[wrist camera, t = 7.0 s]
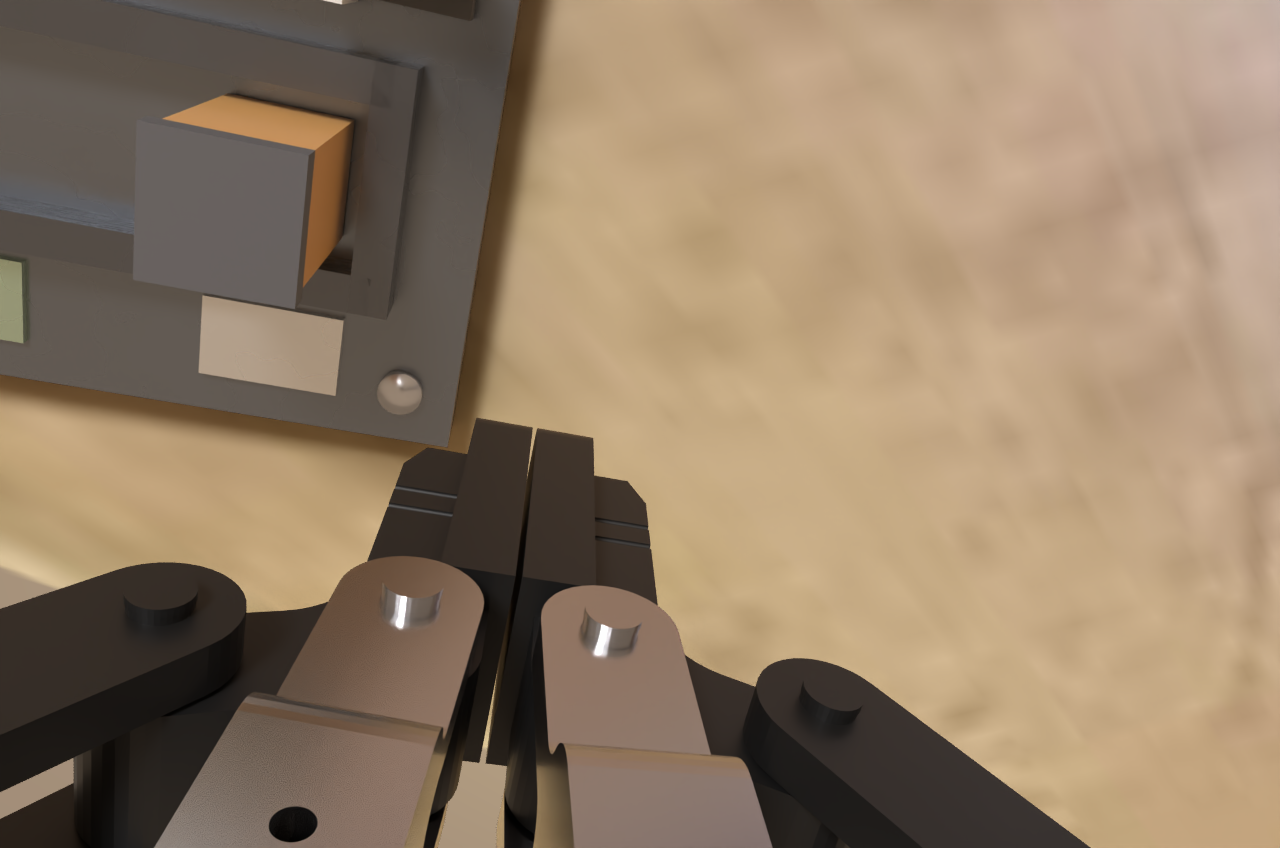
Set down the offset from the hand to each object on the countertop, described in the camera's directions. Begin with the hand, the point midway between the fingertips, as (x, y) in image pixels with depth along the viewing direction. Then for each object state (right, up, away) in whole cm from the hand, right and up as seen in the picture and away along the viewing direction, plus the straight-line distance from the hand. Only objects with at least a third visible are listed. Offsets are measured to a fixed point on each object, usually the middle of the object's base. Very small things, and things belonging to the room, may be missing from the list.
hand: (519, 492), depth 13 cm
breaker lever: (-7, +7, +12) cm, 16 cm away
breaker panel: (-11, +9, +13) cm, 19 cm away
